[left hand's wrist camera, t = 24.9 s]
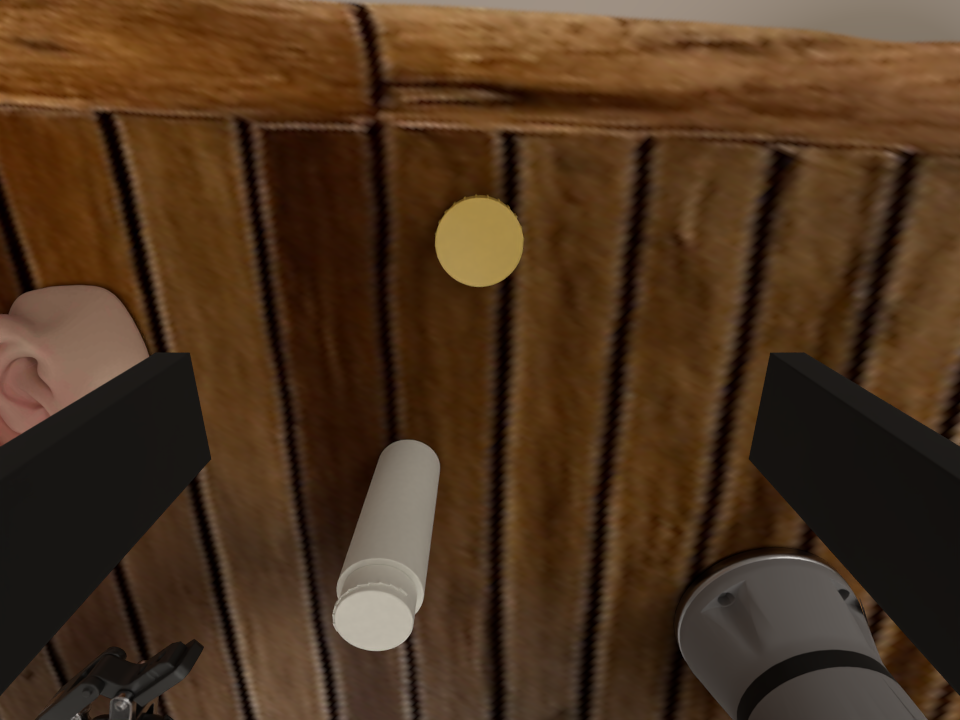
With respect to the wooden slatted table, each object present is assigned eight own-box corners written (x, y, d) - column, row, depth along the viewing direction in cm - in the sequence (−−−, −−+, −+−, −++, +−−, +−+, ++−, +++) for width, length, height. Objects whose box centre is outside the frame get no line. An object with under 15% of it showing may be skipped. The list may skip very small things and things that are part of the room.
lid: (419, 235, 36) (415, 239, 34) (482, 175, 35) (483, 176, 33) (476, 297, 38) (475, 305, 36) (539, 242, 37) (542, 247, 34)
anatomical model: (39, 265, 33) (164, 412, 36) (83, 254, 37) (193, 389, 40) (-110, 364, 35) (22, 493, 39) (-53, 344, 39) (62, 464, 42)
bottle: (431, 433, 42) (405, 577, 27) (446, 486, 43) (430, 647, 29) (370, 446, 42) (314, 595, 28) (388, 498, 44) (343, 663, 30)
